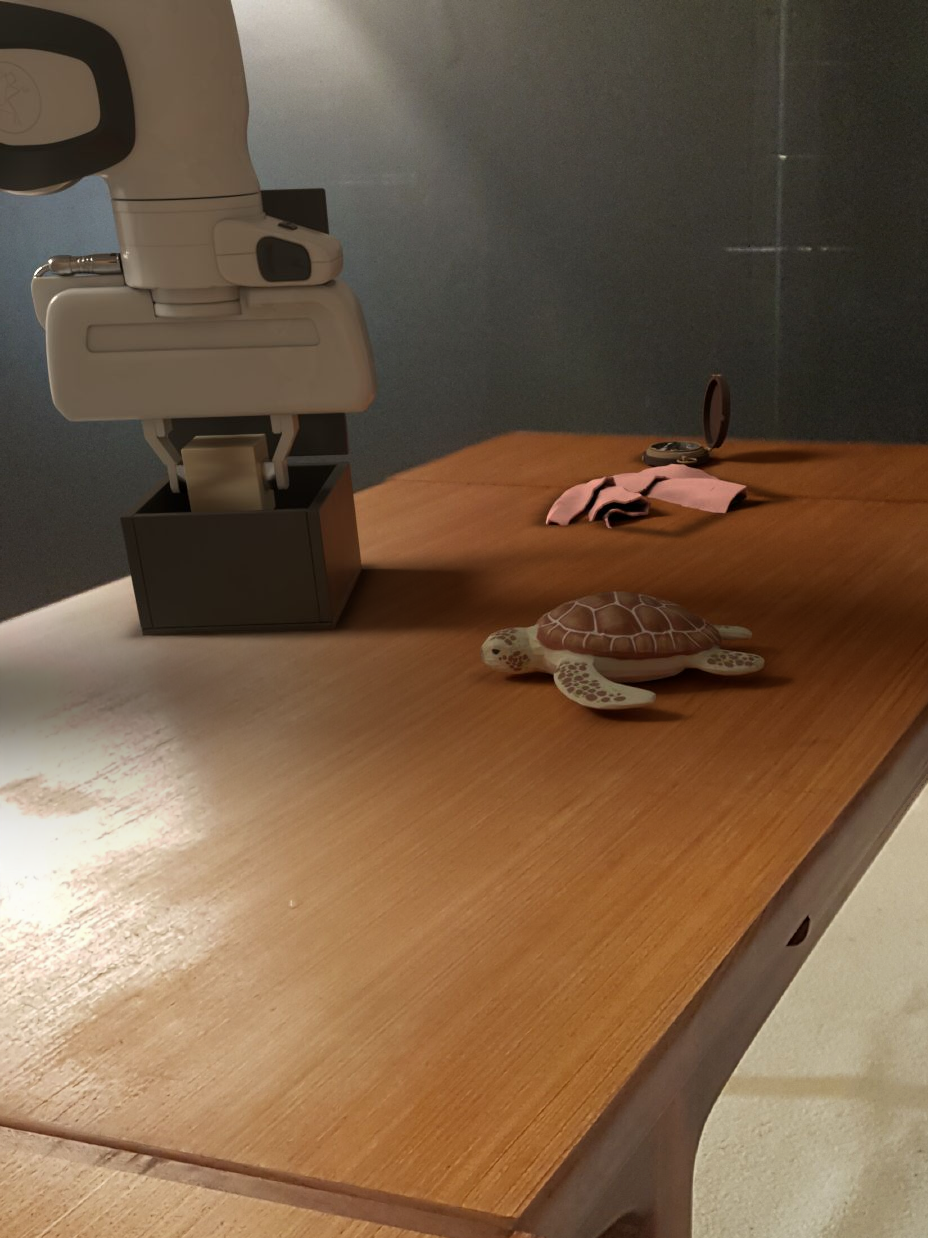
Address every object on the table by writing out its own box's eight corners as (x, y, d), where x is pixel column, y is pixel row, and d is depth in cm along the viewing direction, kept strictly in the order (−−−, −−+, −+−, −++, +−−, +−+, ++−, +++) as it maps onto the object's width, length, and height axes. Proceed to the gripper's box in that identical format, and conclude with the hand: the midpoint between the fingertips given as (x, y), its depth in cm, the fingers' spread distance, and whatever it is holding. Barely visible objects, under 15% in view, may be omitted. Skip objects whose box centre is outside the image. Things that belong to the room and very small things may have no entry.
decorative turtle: (483, 640, 105) (476, 560, 102) (738, 628, 106) (739, 549, 103) (481, 735, 90) (473, 644, 87) (779, 720, 90) (781, 630, 88)
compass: (634, 458, 153) (632, 374, 149) (715, 452, 154) (715, 368, 150) (655, 475, 146) (654, 387, 142) (739, 469, 148) (740, 381, 144)
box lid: (323, 187, 109) (325, 189, 109) (135, 193, 109) (138, 195, 109) (348, 454, 115) (349, 454, 116) (170, 460, 115) (173, 460, 116)
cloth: (697, 472, 147) (697, 443, 146) (822, 519, 131) (823, 487, 129) (487, 498, 140) (485, 468, 139) (590, 552, 123) (589, 518, 122)
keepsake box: (334, 634, 107) (318, 510, 103) (143, 640, 107) (119, 516, 103) (362, 573, 120) (349, 461, 116) (192, 579, 120) (172, 467, 116)
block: (193, 524, 105) (180, 449, 103) (207, 508, 109) (195, 435, 107) (264, 522, 105) (253, 446, 103) (275, 506, 109) (265, 433, 107)
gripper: (8, 260, 96) (59, 505, 104) (353, 249, 96) (380, 495, 104) (38, 250, 101) (85, 484, 109) (366, 240, 102) (390, 474, 109)
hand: (231, 489), depth 106 cm, fingers closed on block, 4 cm apart
